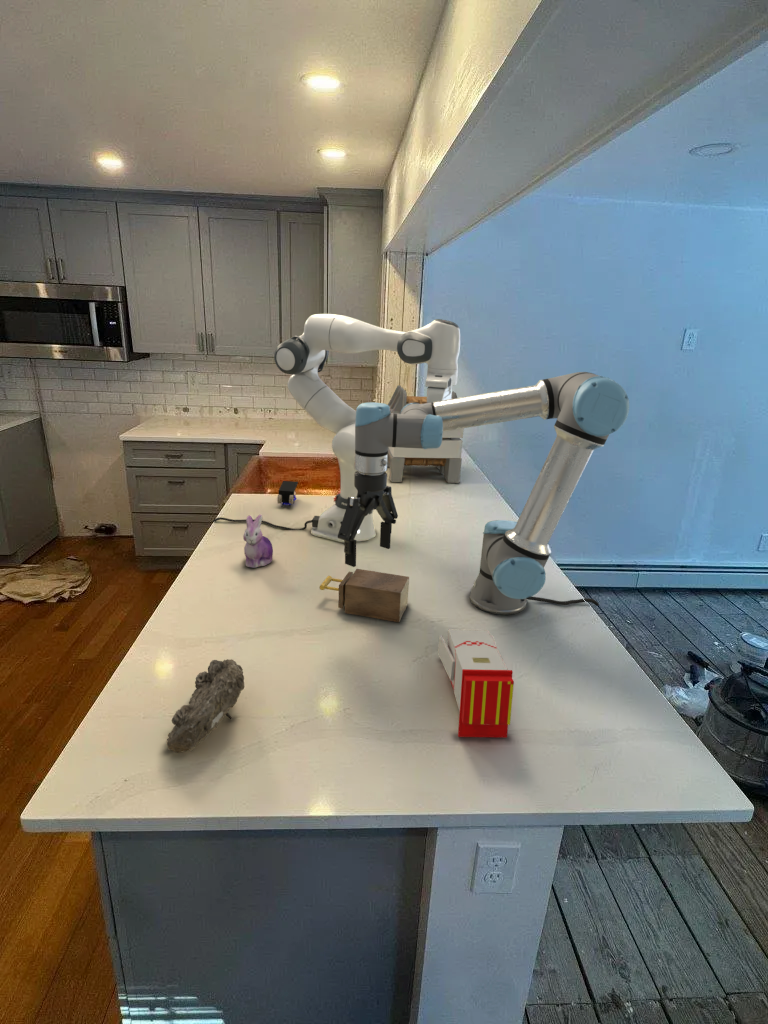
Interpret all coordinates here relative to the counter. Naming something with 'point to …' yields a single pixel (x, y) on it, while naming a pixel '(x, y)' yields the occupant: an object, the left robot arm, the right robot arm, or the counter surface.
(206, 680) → the fossil
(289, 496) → the figurine character
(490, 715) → the toy
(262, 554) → the figurine
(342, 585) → the drawer
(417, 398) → the transformer
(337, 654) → the counter surface
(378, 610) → the wooden drawer cabinet
